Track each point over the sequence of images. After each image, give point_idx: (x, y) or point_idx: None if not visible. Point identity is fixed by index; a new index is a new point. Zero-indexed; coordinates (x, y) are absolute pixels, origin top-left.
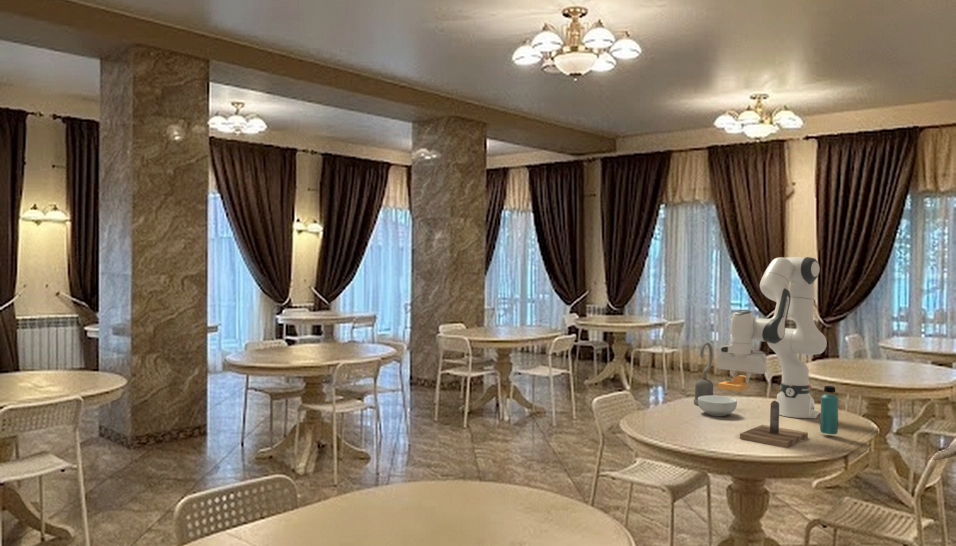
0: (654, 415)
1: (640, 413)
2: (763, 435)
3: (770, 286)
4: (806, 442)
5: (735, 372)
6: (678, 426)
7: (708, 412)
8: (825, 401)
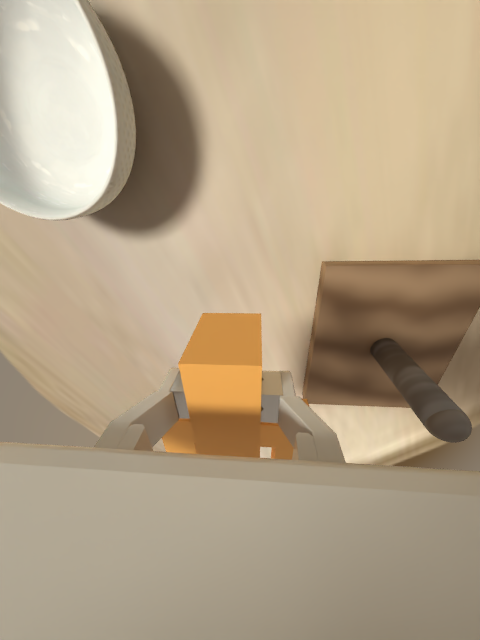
0: (24, 327)
1: None
2: (359, 387)
3: None
4: (472, 323)
5: (146, 433)
6: (148, 384)
7: (75, 193)
8: None
